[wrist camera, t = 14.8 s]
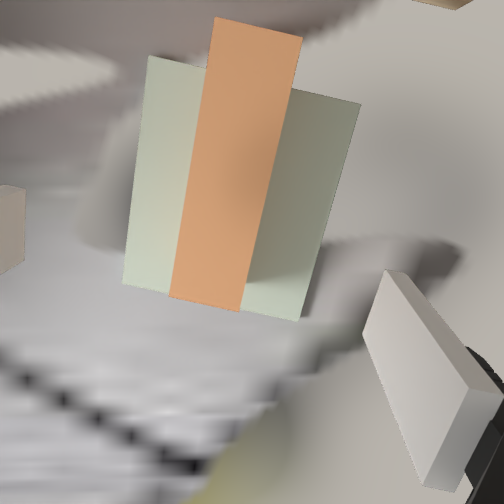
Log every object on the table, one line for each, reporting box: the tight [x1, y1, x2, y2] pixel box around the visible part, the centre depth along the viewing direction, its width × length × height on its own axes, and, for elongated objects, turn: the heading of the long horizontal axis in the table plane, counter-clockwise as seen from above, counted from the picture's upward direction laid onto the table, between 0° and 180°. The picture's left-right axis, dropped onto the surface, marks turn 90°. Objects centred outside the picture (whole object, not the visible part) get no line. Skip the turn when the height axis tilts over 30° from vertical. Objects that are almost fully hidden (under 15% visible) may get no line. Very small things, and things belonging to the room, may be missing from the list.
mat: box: [122, 55, 361, 322], centre depth 25 cm, size 12×14×1 cm
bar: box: [169, 17, 303, 312], centre depth 22 cm, size 4×14×4 cm, turn 168°
